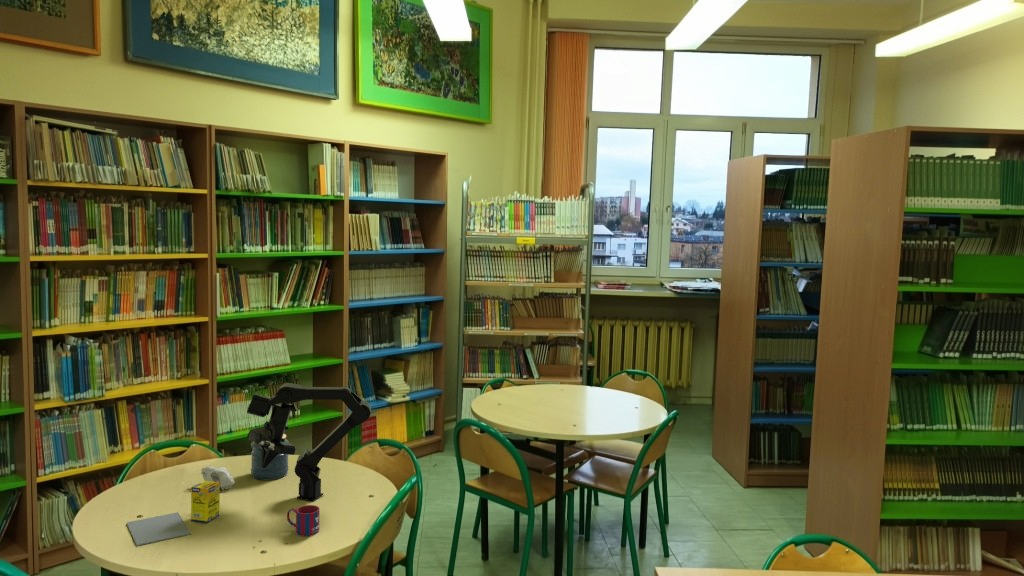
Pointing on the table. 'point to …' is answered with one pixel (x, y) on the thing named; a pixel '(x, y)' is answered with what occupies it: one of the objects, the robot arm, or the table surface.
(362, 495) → the table surface
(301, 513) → the mug
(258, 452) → the canister
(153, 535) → the mat
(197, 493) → the supplement box
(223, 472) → the skull
